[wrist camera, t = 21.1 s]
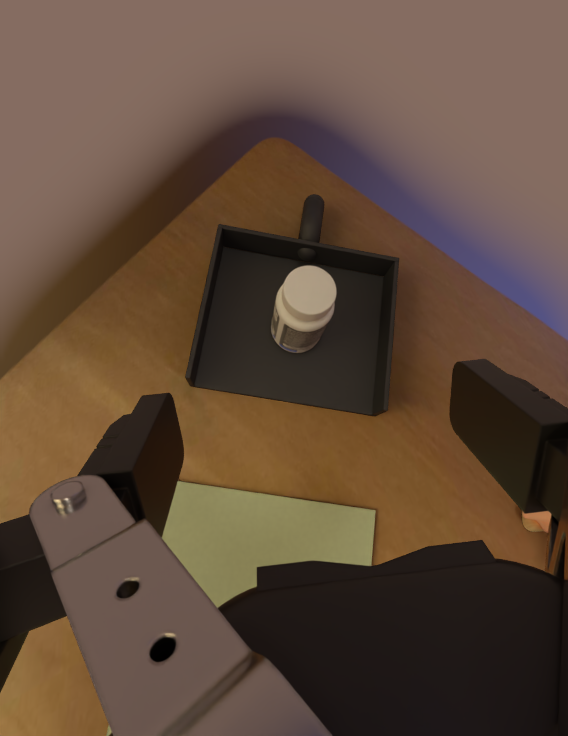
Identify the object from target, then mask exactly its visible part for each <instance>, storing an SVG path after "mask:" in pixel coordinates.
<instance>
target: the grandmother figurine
mask: <svg viewBox="0 0 568 736" xmlns="http://www.w3.org/2000/svg"><path fill="white" fill-rule="evenodd" d="M550 519H551V513H550V512H549V511H544V512H536V513H527V514H525V513H524V512H523V511H522V523H523V525H524V527H525V528H526V529H527V530H529V531H532V532H539V531H545V532H547V533H548V528H549V523H550Z"/></svg>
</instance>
